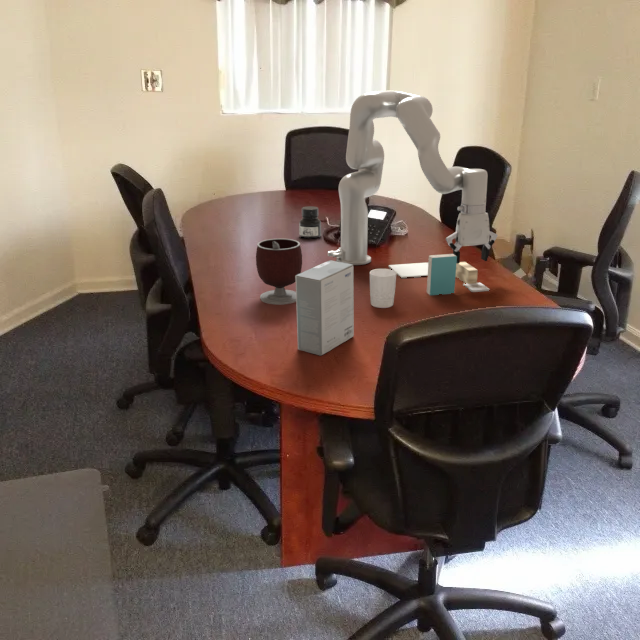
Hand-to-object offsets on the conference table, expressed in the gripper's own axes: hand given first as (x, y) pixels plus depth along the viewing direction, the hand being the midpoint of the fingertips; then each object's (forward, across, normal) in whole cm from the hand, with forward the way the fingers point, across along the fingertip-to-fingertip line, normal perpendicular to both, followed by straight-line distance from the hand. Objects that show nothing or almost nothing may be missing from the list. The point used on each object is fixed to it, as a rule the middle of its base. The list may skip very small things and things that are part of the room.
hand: (470, 261), depth 218 cm
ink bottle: (+5, -38, +72) cm, 81 cm away
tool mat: (+6, -8, +16) cm, 19 cm away
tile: (+7, -14, -8) cm, 17 cm away
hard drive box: (+7, -58, -39) cm, 70 cm away
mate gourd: (+6, -64, -2) cm, 64 cm away
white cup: (+7, -34, -14) cm, 38 cm away
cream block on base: (+7, -1, -2) cm, 7 cm away
